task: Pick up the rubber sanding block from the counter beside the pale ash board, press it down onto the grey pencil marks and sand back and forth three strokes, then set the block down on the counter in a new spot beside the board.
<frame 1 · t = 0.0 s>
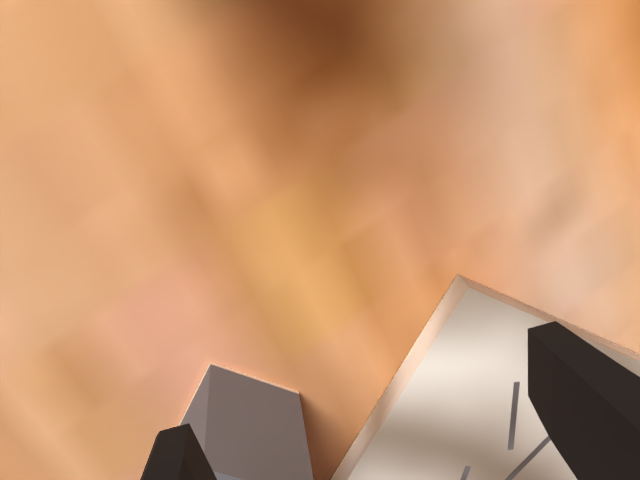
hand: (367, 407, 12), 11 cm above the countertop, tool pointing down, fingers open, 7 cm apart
sanding block: (212, 455, 25), on the countertop
ash board: (482, 463, 27), on the countertop
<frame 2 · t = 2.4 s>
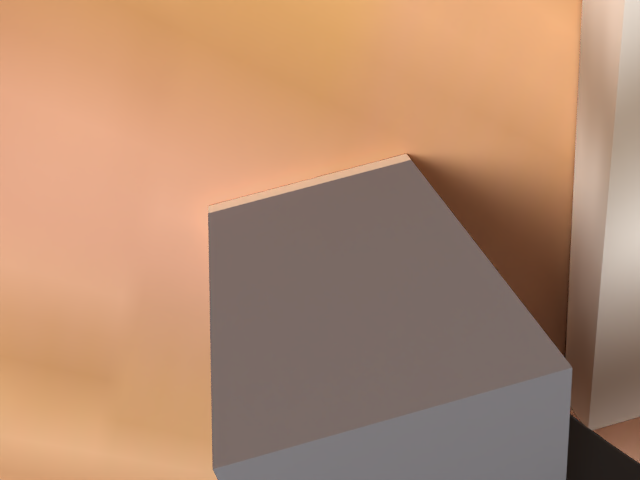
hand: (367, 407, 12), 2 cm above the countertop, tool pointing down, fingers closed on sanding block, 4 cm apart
sanding block: (347, 345, 14), on the countertop, touching gripper
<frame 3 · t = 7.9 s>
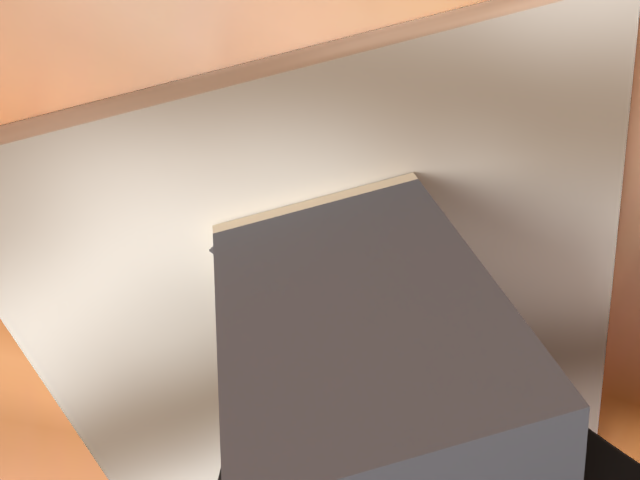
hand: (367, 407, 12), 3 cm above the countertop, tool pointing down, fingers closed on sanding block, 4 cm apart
sanding block: (352, 363, 13), point 1 cm above the countertop, touching gripper
ash board: (347, 357, 15), on the countertop
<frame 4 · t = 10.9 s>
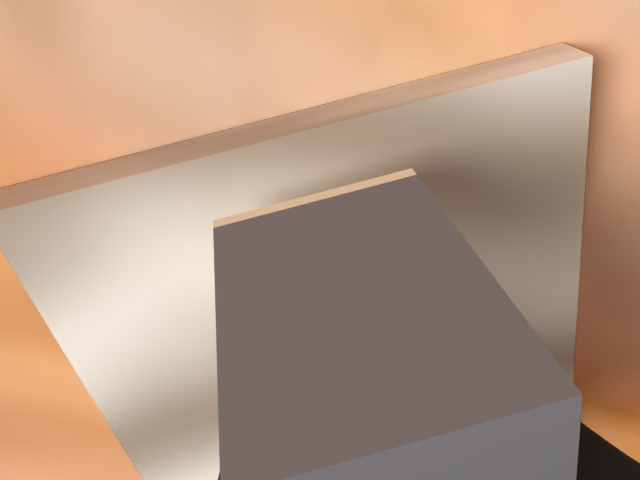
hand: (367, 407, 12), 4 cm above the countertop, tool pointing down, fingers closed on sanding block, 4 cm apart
sanding block: (351, 358, 14), point 2 cm above the countertop, touching gripper
ash board: (347, 365, 17), on the countertop
when the fingers open (3 cm above the countertop, at t = 13.6 s): sanding block drops 1 cm, on the countertop.
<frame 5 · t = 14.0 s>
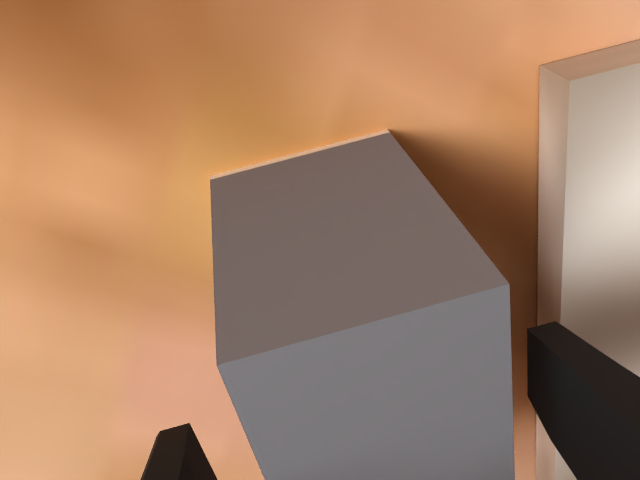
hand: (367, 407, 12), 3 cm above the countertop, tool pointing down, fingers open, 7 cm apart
sanding block: (336, 305, 15), on the countertop
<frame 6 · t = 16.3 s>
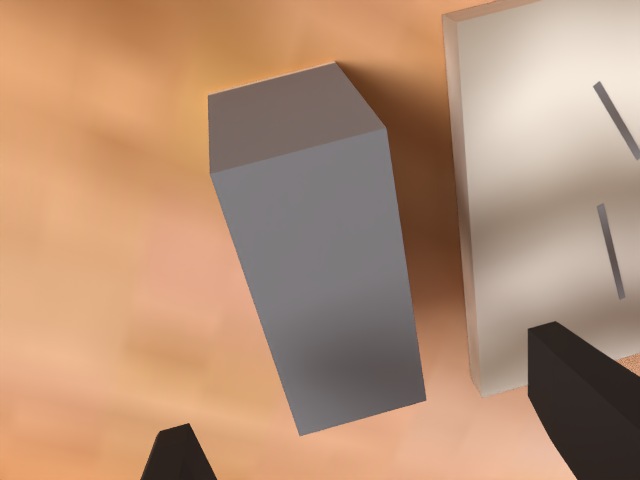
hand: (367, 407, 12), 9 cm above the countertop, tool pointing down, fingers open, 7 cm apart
sanding block: (302, 201, 20), on the countertop
ash board: (621, 188, 22), on the countertop
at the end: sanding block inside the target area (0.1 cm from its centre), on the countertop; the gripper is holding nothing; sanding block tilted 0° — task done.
